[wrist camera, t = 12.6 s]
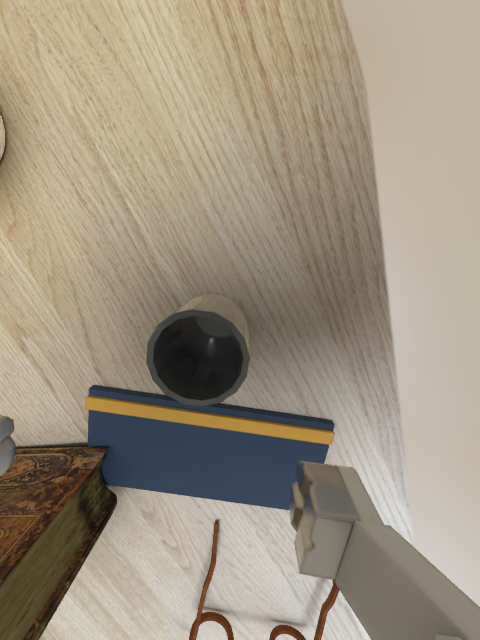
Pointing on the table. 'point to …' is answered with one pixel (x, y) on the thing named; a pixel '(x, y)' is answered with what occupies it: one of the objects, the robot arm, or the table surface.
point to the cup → (2, 137)
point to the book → (47, 531)
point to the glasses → (277, 630)
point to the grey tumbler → (201, 351)
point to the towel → (202, 447)
